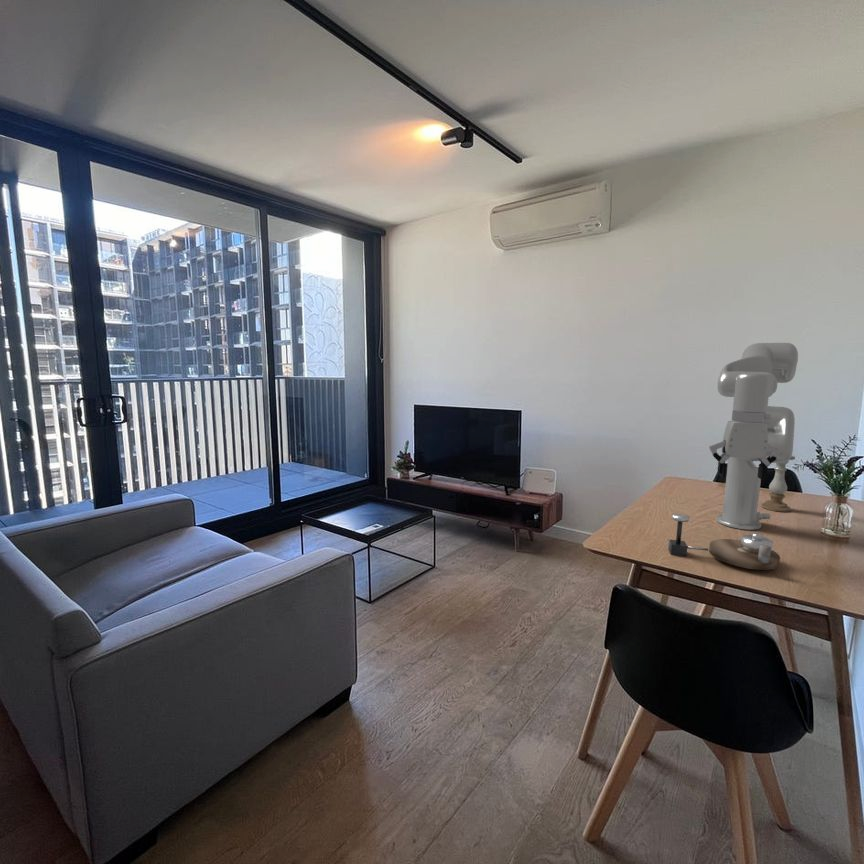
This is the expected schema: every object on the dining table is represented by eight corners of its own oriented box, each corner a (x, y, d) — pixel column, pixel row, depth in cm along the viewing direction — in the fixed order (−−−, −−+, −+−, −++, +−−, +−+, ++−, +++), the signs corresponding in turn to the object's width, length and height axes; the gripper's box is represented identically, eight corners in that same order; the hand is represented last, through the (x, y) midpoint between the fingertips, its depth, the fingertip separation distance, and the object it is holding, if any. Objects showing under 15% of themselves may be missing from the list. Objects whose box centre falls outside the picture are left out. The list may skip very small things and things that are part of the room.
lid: (758, 544, 131) (760, 529, 130) (778, 555, 124) (780, 538, 123) (734, 545, 130) (736, 529, 129) (753, 555, 123) (755, 539, 123)
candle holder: (794, 513, 167) (801, 458, 164) (765, 510, 170) (772, 456, 167) (784, 506, 175) (791, 453, 172) (757, 503, 178) (763, 452, 175)
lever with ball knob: (670, 554, 131) (673, 517, 129) (667, 548, 135) (670, 512, 133) (709, 559, 128) (713, 521, 126) (705, 553, 132) (709, 516, 130)
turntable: (748, 544, 135) (751, 525, 135) (795, 569, 120) (798, 547, 119) (696, 545, 134) (698, 526, 133) (736, 571, 118) (739, 549, 117)
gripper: (778, 417, 130) (771, 476, 132) (709, 414, 135) (703, 472, 137) (790, 420, 123) (782, 483, 125) (716, 417, 127) (710, 478, 130)
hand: (741, 477), depth 131 cm, fingers open, 9 cm apart
